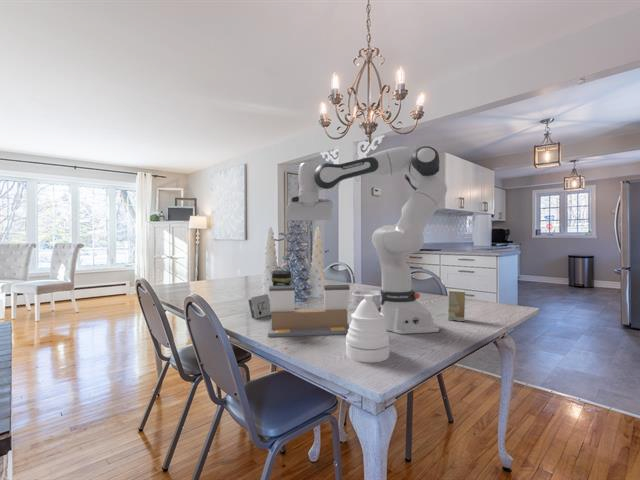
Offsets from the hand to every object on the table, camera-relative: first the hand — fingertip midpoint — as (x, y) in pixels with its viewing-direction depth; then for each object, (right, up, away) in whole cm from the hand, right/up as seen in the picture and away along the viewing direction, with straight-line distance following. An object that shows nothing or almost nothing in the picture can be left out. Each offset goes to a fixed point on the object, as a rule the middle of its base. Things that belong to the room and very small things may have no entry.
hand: (309, 231), depth 144 cm
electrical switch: (-22, -38, +2) cm, 43 cm away
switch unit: (+1, -38, -19) cm, 42 cm away
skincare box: (+61, -37, -8) cm, 72 cm away
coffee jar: (-14, -37, +16) cm, 43 cm away
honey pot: (+19, -38, -45) cm, 62 cm away
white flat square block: (+11, -30, -18) cm, 37 cm away
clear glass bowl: (+27, -37, +13) cm, 48 cm away
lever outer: (-9, -31, -20) cm, 38 cm away
